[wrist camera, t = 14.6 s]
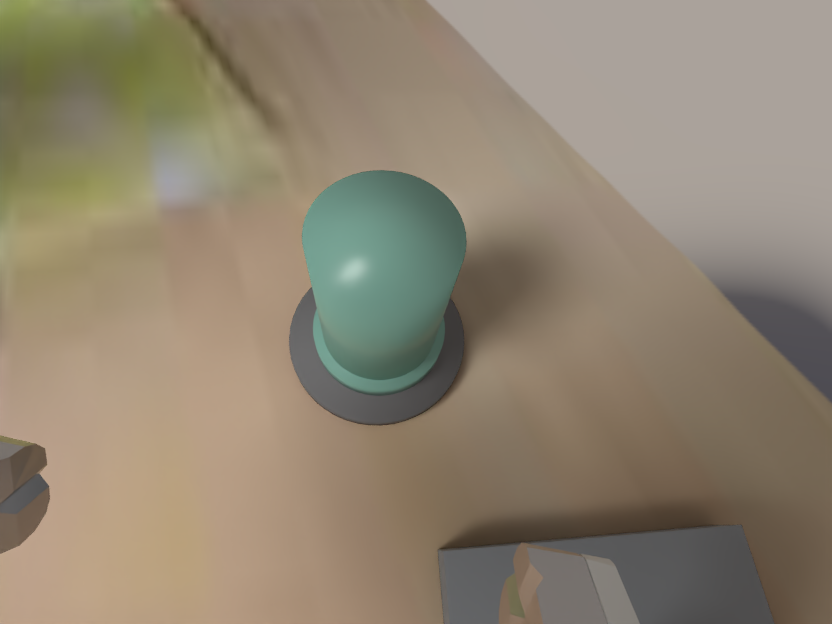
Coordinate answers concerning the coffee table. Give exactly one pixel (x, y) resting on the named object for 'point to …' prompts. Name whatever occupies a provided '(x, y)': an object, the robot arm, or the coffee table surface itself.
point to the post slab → (627, 576)
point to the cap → (381, 277)
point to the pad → (369, 406)
